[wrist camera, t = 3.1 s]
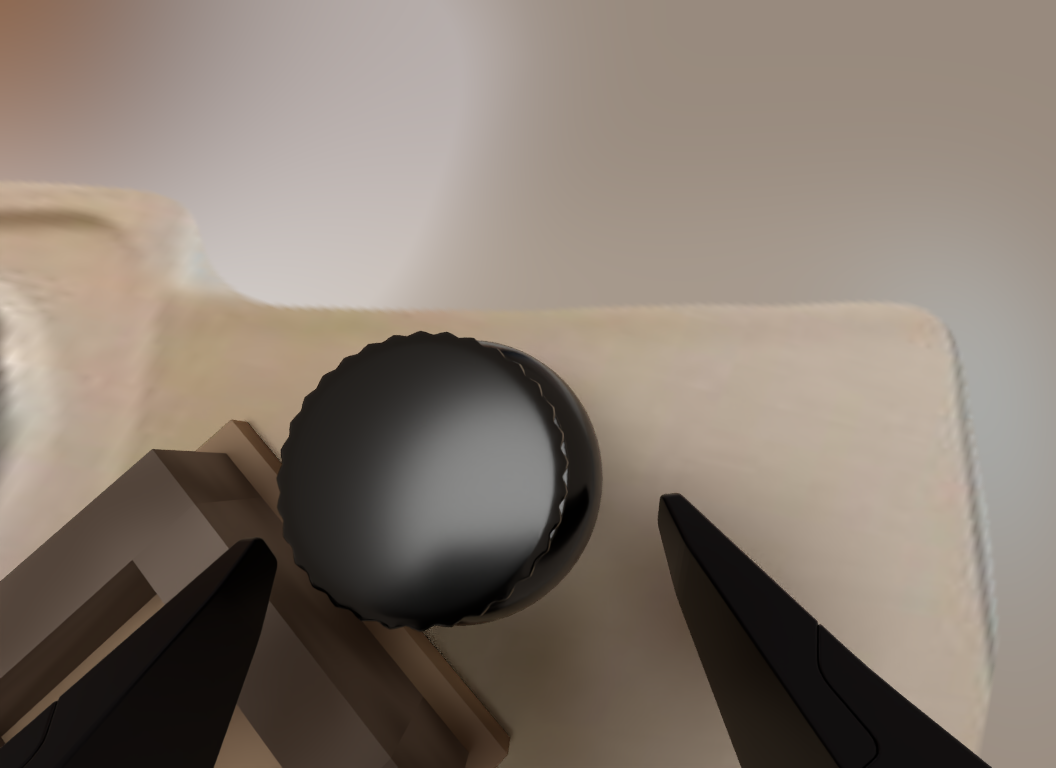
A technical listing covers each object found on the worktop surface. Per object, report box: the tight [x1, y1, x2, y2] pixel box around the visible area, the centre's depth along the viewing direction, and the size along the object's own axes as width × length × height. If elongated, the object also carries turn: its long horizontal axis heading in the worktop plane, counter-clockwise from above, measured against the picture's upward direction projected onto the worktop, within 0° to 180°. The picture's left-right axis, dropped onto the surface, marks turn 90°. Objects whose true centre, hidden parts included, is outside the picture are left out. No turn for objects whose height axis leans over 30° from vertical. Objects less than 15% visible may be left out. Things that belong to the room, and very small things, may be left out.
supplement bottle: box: [276, 331, 603, 632], centre depth 13 cm, size 7×7×12 cm
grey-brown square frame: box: [0, 420, 510, 768], centre depth 15 cm, size 17×17×4 cm
